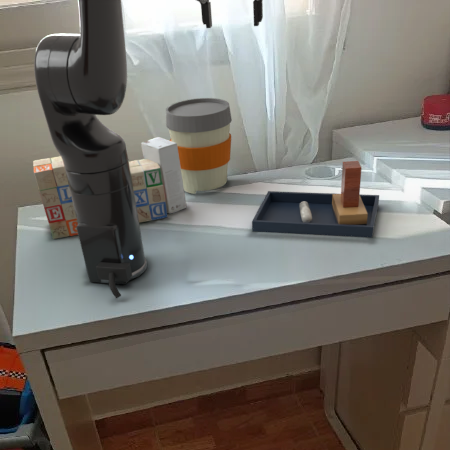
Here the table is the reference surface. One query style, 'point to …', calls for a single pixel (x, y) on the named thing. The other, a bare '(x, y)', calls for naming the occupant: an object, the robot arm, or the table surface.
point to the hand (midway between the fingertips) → (232, 26)
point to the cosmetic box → (167, 170)
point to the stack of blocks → (63, 205)
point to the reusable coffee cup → (201, 141)
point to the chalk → (305, 212)
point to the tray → (320, 210)
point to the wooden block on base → (349, 197)
